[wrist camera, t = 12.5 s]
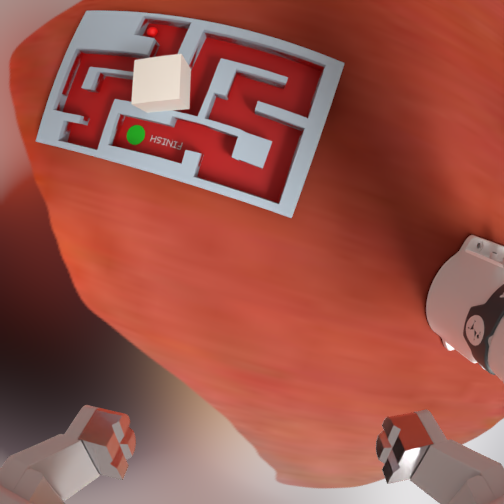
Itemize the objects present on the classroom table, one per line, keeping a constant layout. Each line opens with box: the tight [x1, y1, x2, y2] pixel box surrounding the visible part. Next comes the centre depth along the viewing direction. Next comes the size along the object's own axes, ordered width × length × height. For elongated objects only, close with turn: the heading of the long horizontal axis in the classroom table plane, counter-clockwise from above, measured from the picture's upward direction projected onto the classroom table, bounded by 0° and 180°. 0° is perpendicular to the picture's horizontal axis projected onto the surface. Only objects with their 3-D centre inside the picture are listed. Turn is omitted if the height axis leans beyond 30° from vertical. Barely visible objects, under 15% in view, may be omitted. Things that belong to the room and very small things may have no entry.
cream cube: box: [131, 54, 191, 113], centre depth 28 cm, size 5×5×5 cm
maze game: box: [36, 11, 345, 218], centre depth 32 cm, size 35×20×3 cm, turn 71°
